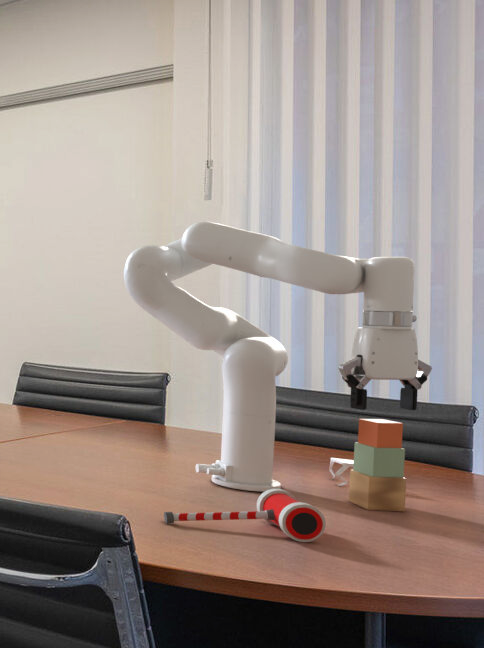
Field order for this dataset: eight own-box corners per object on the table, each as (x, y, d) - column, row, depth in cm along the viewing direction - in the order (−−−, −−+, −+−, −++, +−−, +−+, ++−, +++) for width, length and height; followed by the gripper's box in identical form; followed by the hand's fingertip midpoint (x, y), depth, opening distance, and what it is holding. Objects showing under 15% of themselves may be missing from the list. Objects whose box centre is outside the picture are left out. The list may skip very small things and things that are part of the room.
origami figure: (317, 482, 184) (318, 460, 183) (329, 477, 189) (331, 456, 189) (385, 494, 174) (386, 470, 174) (397, 488, 179) (398, 465, 179)
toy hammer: (174, 532, 145) (176, 496, 145) (155, 514, 157) (157, 480, 156) (325, 544, 140) (327, 506, 140) (294, 524, 151) (296, 489, 151)
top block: (376, 447, 162) (378, 422, 161) (357, 442, 167) (359, 418, 166) (401, 448, 162) (403, 423, 161) (381, 443, 167) (383, 419, 166)
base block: (367, 509, 162) (369, 476, 162) (348, 501, 168) (350, 469, 168) (404, 511, 161) (406, 478, 161) (384, 502, 167) (386, 471, 167)
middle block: (372, 476, 162) (374, 447, 162) (353, 470, 167) (354, 442, 167) (403, 477, 161) (405, 448, 161) (382, 471, 167) (384, 443, 167)
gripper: (415, 320, 167) (411, 406, 167) (328, 319, 166) (324, 406, 167) (448, 322, 159) (444, 412, 160) (357, 321, 159) (353, 411, 160)
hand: (383, 408), depth 164 cm, fingers open, 9 cm apart
